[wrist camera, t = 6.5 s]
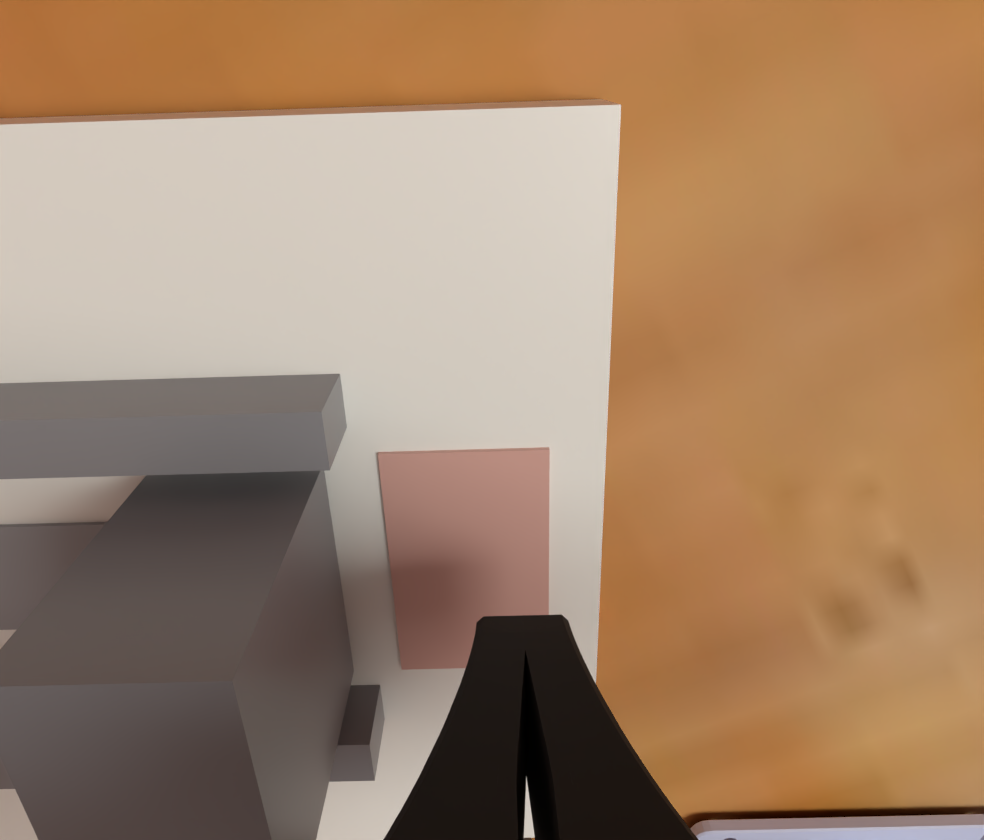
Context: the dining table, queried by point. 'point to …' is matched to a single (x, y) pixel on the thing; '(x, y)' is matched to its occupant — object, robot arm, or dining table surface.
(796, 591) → the dining table surface
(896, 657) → the dining table surface
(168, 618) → the switch knob
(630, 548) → the dining table surface
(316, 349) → the white board with rails
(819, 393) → the dining table surface
